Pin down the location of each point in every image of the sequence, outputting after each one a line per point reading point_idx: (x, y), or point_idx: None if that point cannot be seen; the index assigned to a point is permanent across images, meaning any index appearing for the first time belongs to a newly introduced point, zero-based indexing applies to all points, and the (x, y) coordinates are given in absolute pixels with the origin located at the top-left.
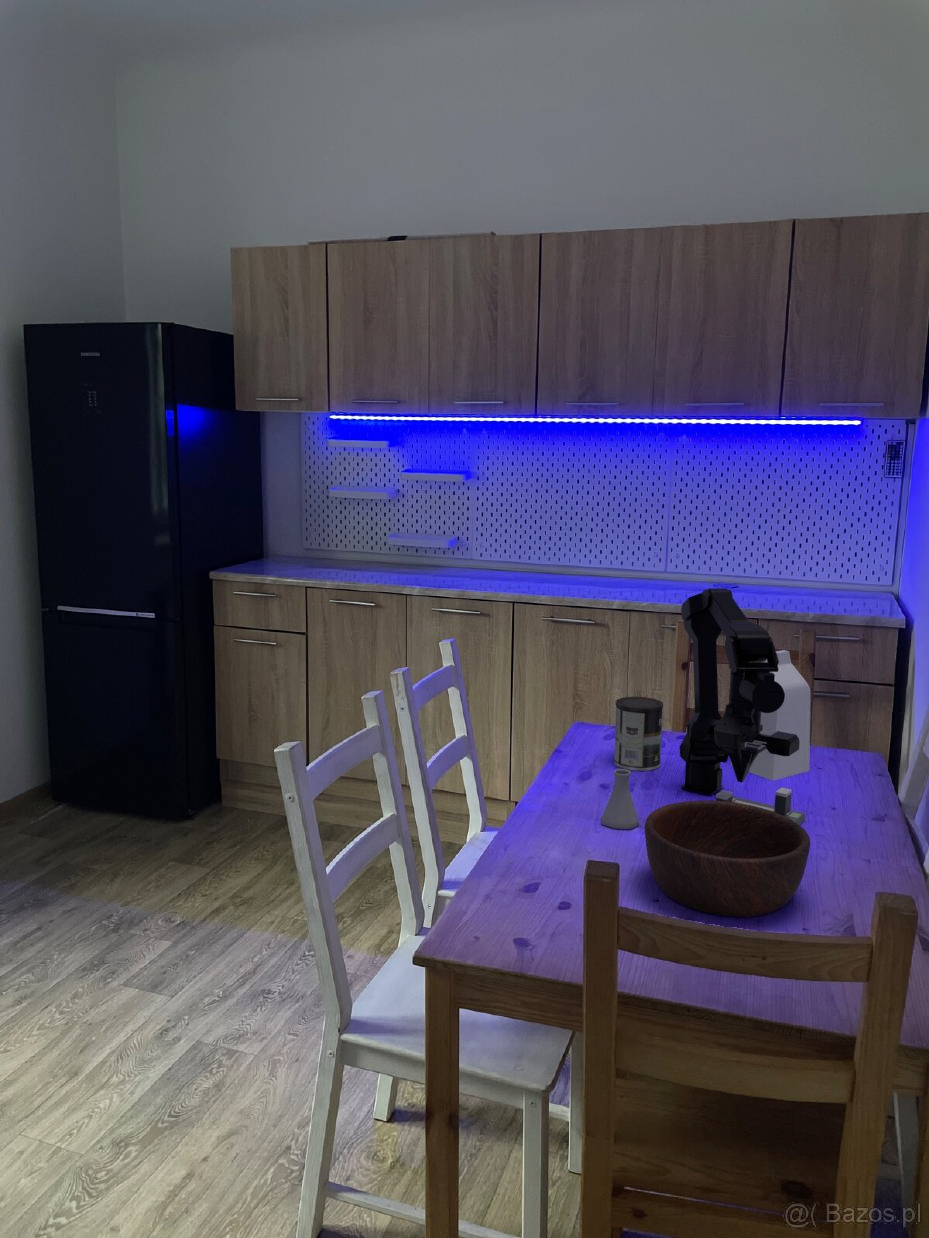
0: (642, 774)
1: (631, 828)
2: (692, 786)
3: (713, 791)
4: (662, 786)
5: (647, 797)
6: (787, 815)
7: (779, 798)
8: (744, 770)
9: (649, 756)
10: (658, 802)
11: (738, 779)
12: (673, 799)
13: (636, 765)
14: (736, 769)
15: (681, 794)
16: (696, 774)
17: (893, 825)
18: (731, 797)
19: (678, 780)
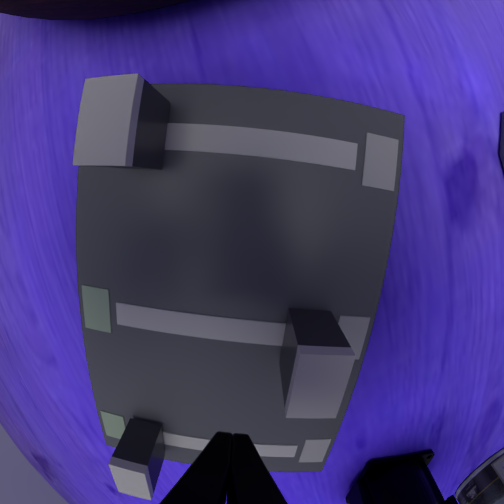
0: (489, 450)
1: (502, 118)
2: (412, 464)
3: (363, 476)
4: (465, 435)
5: (499, 364)
6: (128, 421)
7: (135, 455)
8: (175, 492)
9: (488, 485)
10: (481, 354)
11: (239, 442)
12: (450, 395)
13: (500, 459)
14: (255, 496)
15: (431, 430)
16: (416, 488)
17: (16, 442)
18: (286, 394)
19: (432, 475)
